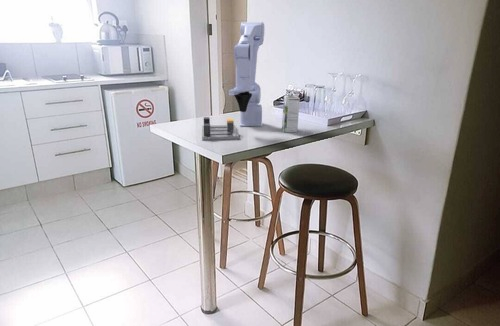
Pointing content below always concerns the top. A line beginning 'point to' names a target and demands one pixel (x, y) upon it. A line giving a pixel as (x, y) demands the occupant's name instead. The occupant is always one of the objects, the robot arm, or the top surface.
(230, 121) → the toggle
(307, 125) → the top surface
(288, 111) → the syrup box
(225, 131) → the panel
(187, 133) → the top surface
